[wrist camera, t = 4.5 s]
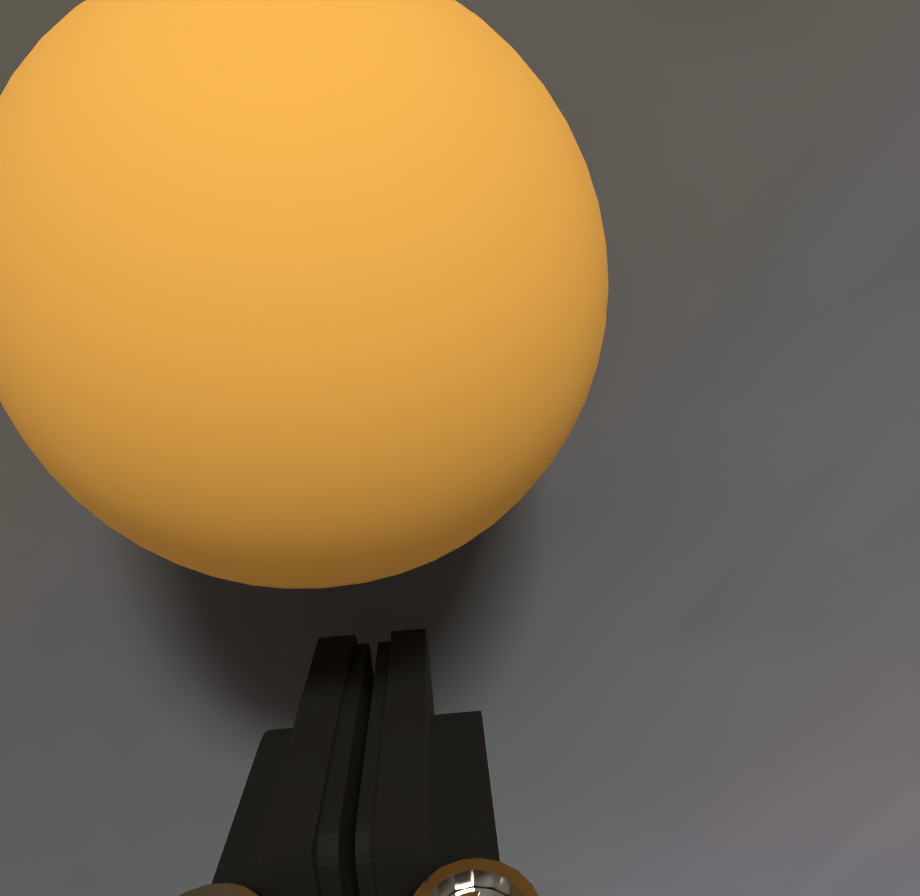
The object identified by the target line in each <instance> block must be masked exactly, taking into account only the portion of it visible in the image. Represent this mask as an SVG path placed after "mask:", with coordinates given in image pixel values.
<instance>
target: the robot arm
mask: <svg viewBox="0 0 920 896" xmlns="http://www.w3.org/2000/svg"><path fill="white" fill-rule="evenodd" d="M180 896H538V895H537V893H536V891H535V889H534V887H533V885H532V884H531V883H530V882H529V881H528V880H527V879H526V878H525V877H524V876H523V875H522V874H521V873H520V872H519V871H518V870H516V869H514V868H512V867H510V866H508V865H506V864H504V863H502V862H500V860H499V851H498V843H497V835H496V827H495V819H494V811H493V803H492V795H491V787H490V779H489V771H488V762H487V754H486V746H485V738H484V730H483V722H482V715H481V711H473V712H462V713H451V714H440V715H434V705H433V694H432V683H431V673H430V662H429V651H428V640H427V632H426V629H416V630H404V631H393V632H392V633H391V641H386V642H379V643H378V650H377V658H376V666H375V674H374V677H373V669H372V660H371V652H370V646H369V644H368V643H363V644H357V640H356V637H355V635H347V636H335V637H324V638H319V640H318V642H317V646H316V649H315V653H314V656H313V660H312V663H311V667H310V670H309V674H308V678H307V681H306V685H305V688H304V692H303V695H302V699H301V702H300V706H299V709H298V713H297V716H296V720H295V723H294V727H293V728H287V729H276V730H268V731H266V732H265V733H264V735H263V737H262V739H261V742H260V744H259V747H258V750H257V753H256V756H255V759H254V762H253V765H252V768H251V771H250V774H249V777H248V779H247V782H246V785H245V788H244V791H243V794H242V797H241V800H240V803H239V806H238V809H237V811H236V814H235V817H234V820H233V823H232V826H231V829H230V832H229V835H228V838H227V841H226V844H225V846H224V849H223V852H222V855H221V858H220V861H219V864H218V867H217V870H216V873H215V876H214V878H213V881H212V884H209V885H204V886H202V887H199V888H196V889H193V890H190V891H188V892H185V893H183V894H182V895H180Z"/></svg>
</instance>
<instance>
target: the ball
mask: <svg viewBox="0 0 920 896" xmlns="http://www.w3.org/2000/svg"><path fill="white" fill-rule="evenodd" d="M607 300H608V268H607V250H606V241H605V235H604V230H603V224H602V219H601V213H600V208H599V203H598V200H597V197H596V193H595V190H594V187H593V184H592V181H591V178H590V175H589V171H588V168H587V165H586V162H585V160H584V158H583V156H582V153H581V151H580V149H579V147H578V145H577V143H576V140H575V138H574V136H573V134H572V132H571V130H570V128H569V125H568V123H567V121H566V120H565V118H564V117H563V115H562V113H561V112H560V110H559V109H558V107H557V106H556V104H555V102H554V101H553V99H552V98H551V96H550V94H549V93H548V91H547V90H546V88H545V86H544V85H543V84H542V82H541V81H540V80H539V79H538V78H537V76H536V75H535V74H534V73H533V72H532V70H531V69H530V68H529V67H528V65H527V64H526V63H525V62H524V61H523V59H522V58H521V57H520V56H519V55H518V53H517V52H516V51H515V50H514V49H513V48H512V47H511V46H510V45H509V44H508V43H507V42H506V41H505V40H504V39H502V38H501V37H500V36H499V35H498V34H497V33H496V32H495V31H494V30H493V29H492V28H491V27H489V26H488V25H487V24H486V23H485V22H484V21H483V20H482V19H481V18H480V17H478V16H477V15H475V14H474V13H472V12H471V11H470V10H468V9H467V8H465V7H464V6H463V5H461V4H460V3H458V2H457V1H455V0H86V1H84V2H83V3H81V4H79V5H78V6H76V7H75V8H74V9H73V10H72V11H71V12H69V13H68V14H67V15H66V16H65V17H64V18H63V19H62V20H61V21H60V22H59V23H57V24H56V25H55V26H54V27H53V28H52V29H51V30H50V31H49V32H48V33H46V34H45V35H44V36H43V37H42V38H41V39H40V41H39V42H38V43H37V44H36V46H35V47H34V48H33V49H32V51H31V52H30V53H29V54H28V56H27V57H26V58H25V59H24V61H23V62H22V63H21V64H20V66H19V67H18V68H17V69H16V71H15V72H14V73H13V75H12V77H11V78H10V80H9V82H8V84H7V85H6V87H5V89H4V91H3V92H2V94H1V96H0V401H1V403H2V406H3V407H4V409H5V410H6V412H7V414H8V415H9V417H10V419H11V420H12V422H13V423H14V425H15V427H16V428H17V430H18V432H19V433H20V435H21V437H22V438H23V440H24V441H25V443H26V444H27V445H28V446H29V448H30V449H31V450H32V451H33V453H34V454H35V455H36V457H37V458H38V459H39V460H40V462H41V463H42V464H43V465H44V467H45V468H46V469H47V470H48V472H49V473H50V474H51V475H52V476H53V477H54V478H55V479H56V480H57V481H58V482H59V483H60V484H61V485H62V486H63V487H64V488H65V489H66V490H67V491H68V492H69V493H70V494H71V495H72V496H73V497H74V498H75V499H76V500H77V501H78V502H79V503H80V504H81V505H83V506H84V507H85V508H86V509H88V510H89V511H90V512H91V513H93V514H94V515H95V516H96V517H98V518H99V519H100V520H101V521H103V522H104V523H105V524H106V525H108V526H109V527H111V528H112V529H114V530H115V531H117V532H118V533H120V534H122V535H123V536H125V537H126V538H128V539H130V540H131V541H133V542H134V543H136V544H138V545H139V546H141V547H142V548H144V549H146V550H149V551H151V552H153V553H155V554H157V555H159V556H161V557H163V558H165V559H167V560H169V561H171V562H174V563H176V564H178V565H181V566H184V567H186V568H189V569H192V570H195V571H198V572H201V573H204V574H207V575H209V576H212V577H216V578H221V579H225V580H230V581H234V582H239V583H243V584H248V585H255V586H265V587H274V588H284V589H310V588H329V587H337V586H345V585H352V584H360V583H366V582H370V581H374V580H378V579H382V578H386V577H390V576H394V575H398V574H401V573H404V572H406V571H409V570H412V569H414V568H417V567H419V566H422V565H424V564H427V563H430V562H432V561H435V560H436V559H438V558H440V557H442V556H444V555H446V554H448V553H449V552H451V551H453V550H455V549H457V548H459V547H461V546H462V545H464V544H466V543H467V542H469V541H470V540H472V539H473V538H475V537H476V536H477V535H479V534H480V533H482V532H483V531H484V530H486V529H487V528H489V527H490V526H491V525H493V524H494V523H496V522H497V521H498V520H499V519H500V518H501V517H502V516H503V515H504V514H505V513H506V512H508V511H509V510H510V509H511V508H512V507H513V506H514V505H515V504H516V503H517V502H518V501H520V500H521V499H522V498H523V496H524V495H525V494H526V493H527V492H528V491H529V489H530V488H531V487H532V486H533V485H534V483H535V482H536V481H537V480H538V479H539V478H540V476H541V475H542V474H543V473H544V472H545V471H546V469H547V468H548V467H549V465H550V464H551V462H552V461H553V459H554V458H555V456H556V454H557V453H558V451H559V450H560V448H561V447H562V445H563V444H564V442H565V441H566V439H567V438H568V436H569V434H570V432H571V430H572V428H573V426H574V424H575V422H576V420H577V418H578V416H579V414H580V412H581V410H582V408H583V405H584V403H585V401H586V398H587V395H588V393H589V390H590V387H591V384H592V381H593V378H594V375H595V372H596V369H597V366H598V361H599V356H600V352H601V347H602V342H603V337H604V332H605V327H606V313H607Z"/></svg>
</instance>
